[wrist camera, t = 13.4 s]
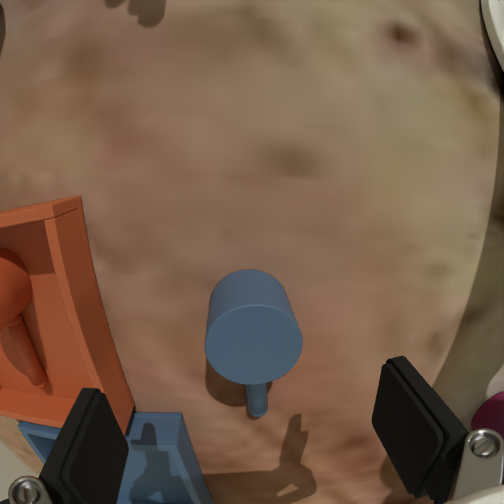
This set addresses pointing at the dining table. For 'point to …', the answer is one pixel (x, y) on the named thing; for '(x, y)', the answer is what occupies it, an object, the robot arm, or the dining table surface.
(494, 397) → the cup
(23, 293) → the orange toy mallet
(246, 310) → the blue handled cylinder
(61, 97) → the dining table surface
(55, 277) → the terracotta bin
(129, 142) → the dining table surface
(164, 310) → the dining table surface
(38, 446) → the slate bin
